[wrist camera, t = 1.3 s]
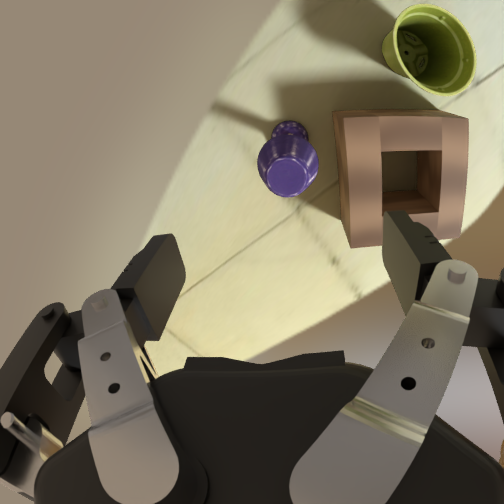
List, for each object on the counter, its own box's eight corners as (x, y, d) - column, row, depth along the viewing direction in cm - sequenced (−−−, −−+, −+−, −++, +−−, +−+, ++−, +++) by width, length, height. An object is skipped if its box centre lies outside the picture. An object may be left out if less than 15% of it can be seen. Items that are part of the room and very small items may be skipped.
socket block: (332, 111, 31) (343, 118, 25) (439, 110, 29) (468, 118, 23) (341, 220, 38) (350, 248, 32) (437, 212, 36) (459, 237, 30)
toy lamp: (265, 153, 35) (250, 207, 21) (268, 114, 33) (254, 140, 18) (306, 157, 35) (320, 215, 21) (310, 119, 32) (331, 148, 18)
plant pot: (447, 42, 24) (485, 38, 17) (426, 104, 29) (461, 113, 22) (381, 5, 24) (407, -14, 16) (358, 69, 28) (380, 66, 21)
